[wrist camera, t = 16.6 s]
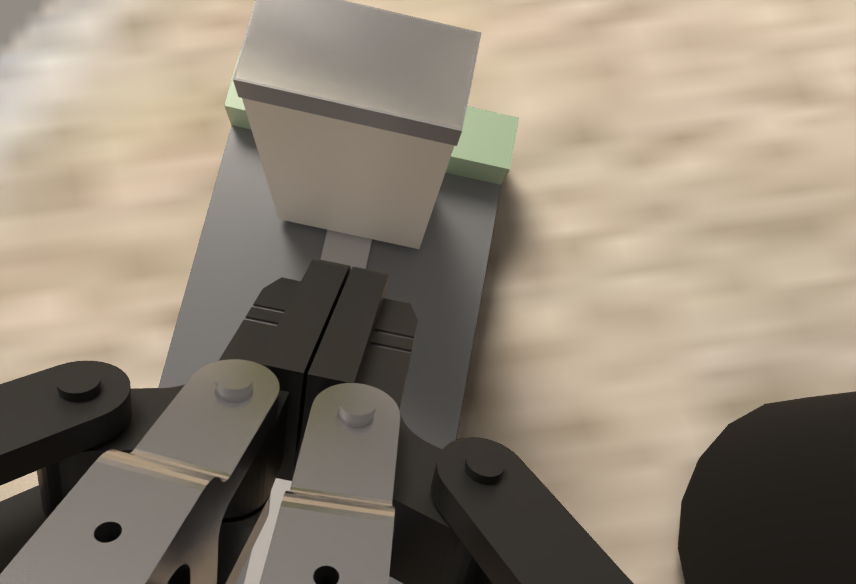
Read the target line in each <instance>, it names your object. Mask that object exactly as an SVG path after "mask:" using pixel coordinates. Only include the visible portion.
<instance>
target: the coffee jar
mask: <svg viewBox="0 0 856 584" xmlns="http://www.w3.org/2000/svg"><path fill="white" fill-rule="evenodd" d="M678 550H679V555H680V560H681V565H682V570H683V574H684V579H685V584H856V392H848V393H840V394H832V395H824V396H815V397H807V398H801V399H794V400H788V401H781V402H775V403H769V404H764V405H763V406H761V407H759V408H757V409H755V410H754V411H752V412H750V413H748V414H746V415H745V416H743V417H741V418H739V419H737V420H736V421H734V422H732V423H730V424H728V426H727V427H726V428H725V429H724V430H723V431H722V433H721V434H720V435H719V436H718V437H717V438H716V439H715V441H714V442H713V443H712V444H711V445H710V446H709V448H708V449H707V450H706V451H705V452H704V453H703V455H702V456H701V457H700V458H699V460H698V462H697V464H696V467H695V469H694V472H693V474H692V477H691V479H690V482H689V484H688V487H687V489H686V492H685V494H684V497H683V499H682V503H681V516H680V529H679V541H678Z"/></svg>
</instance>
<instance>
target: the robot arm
mask: <svg viewBox="0 0 856 584" xmlns="http://www.w3.org/2000/svg"><path fill="white" fill-rule="evenodd" d="M388 284H389V273H384V272H379V271H374V270H369V269H364V268H359V267H354V266H353V267H352V269H351V266H350V265H345V264H340V263H335V262H330V261H325V260H320V259H315V258H313V260H312V261H311V263H310V265H309V267H308V269H307V271H306V272H305V274H304V276H303V278H302V280H301V281H298V280H293V279H288V278H283V277H281V278H279V279H278V280H276V281H274V282H273V283H271V284H269V285H268V286H266V287H264V288H263V289H262V290H261V292H260V294H259V295H258V297H257V299H256V300H255V302H254V304H253V307H251V308H250V310H249V312H248V313H247V315H246V318H245V319H244V320H243V321H242V323H241V325H240V326H239V328H238V330H237V331H236V333H235V335H234V336H233V338H232V339H231V341H230V343H229V344H228V346H227V348H226V349H225V351H224V352H223V354H222V356H221V357H220V359H219V361H217V362H213V363H210V364H208V365H206V366H204V367H202V368H200V369H199V370H198V371H196V372H195V373H194V374H193V375H192V377H191V378H190V379H189V380H188V382H187V383H186V384H185V385H181V386H176V387H170V388H142V389H130V381H129V378H128V376H127V375H126V374H125V373H124V372H123V371H122V370H121V369H119V368H118V367H116V366H113V365H111V364H108V363H104V362H98V361H76V362H70V363H65V364H62V365H58V366H55V367H52V368H49V369H46V370H43V371H40V372H37V373H34V374H31V375H28V376H24V377H21V378H18V379H15V380H12V381H9V382H6V383H3V384H0V485H3V484H5V483H8V482H10V481H13V480H15V479H17V478H20V477H22V476H25V475H27V474H29V473H32V472H34V471H37V475H38V482H39V485H38V486H36V487H34V488H31V489H29V490H27V491H24V492H22V493H20V494H17V495H15V496H13V497H10V498H8V499H6V500H3V501H1V502H0V584H235V583H236V581H237V579H238V577H239V575H240V573H241V571H242V569H243V567H244V565H245V563H246V561H247V559H248V557H249V554H250V552H251V550H252V548H253V546H254V544H255V542H256V540H257V538H258V536H259V534H260V532H261V530H262V528H263V526H264V524H265V522H266V520H267V517H268V515H269V509H270V497H271V489H272V487H273V484H274V482H275V479H276V478H278V479H283V480H288V481H292V484H291V487H290V491H285V493H284V496H283V499H282V502H281V505H280V509H279V513H278V516H277V520H276V524H275V528H274V531H273V535H272V539H271V542H270V546H269V550H268V553H267V557H266V561H265V565H264V568H263V572H262V576H261V579H260V583H259V584H388V583H389V576H390V577H392V578H394V579H396V580H397V581H399V582H401V583H403V584H633V583H632V581H631V580H630V579H629V578H628V577H627V576H626V575H625V574H624V573H623V572H622V570H621V569H620V568H619V567H618V566H617V565H616V564H615V563H614V562H613V560H612V559H611V558H610V557H609V556H608V555H607V554H606V553H605V552H604V551H603V549H602V548H601V547H600V546H599V545H598V544H597V543H596V542H595V541H594V540H593V538H592V537H591V536H590V535H589V534H588V533H587V532H586V531H585V530H584V528H583V527H582V526H581V525H580V524H579V523H578V522H577V521H576V520H575V519H574V517H573V516H572V515H571V514H570V513H569V512H568V511H567V510H566V509H565V508H564V506H563V505H562V504H561V503H560V502H559V501H558V500H557V499H556V498H555V496H554V495H553V494H552V493H551V492H550V491H549V490H548V489H547V488H546V487H545V485H544V484H543V483H542V482H541V481H540V480H539V479H538V478H537V477H536V476H535V474H534V473H533V472H532V471H531V470H530V469H529V468H528V467H527V466H526V465H525V463H524V462H523V461H522V460H521V459H520V458H519V457H518V456H517V455H516V454H515V453H514V452H513V451H511V450H510V449H508V448H507V447H505V446H503V445H501V444H499V443H497V442H494V441H491V440H488V439H483V438H472V437H471V438H462V439H458V440H455V441H453V442H451V443H449V444H448V445H446V446H445V447H444V448H443V449H440V448H438V447H436V446H434V445H432V444H430V443H428V442H426V441H424V440H422V439H421V438H420V437H418V436H417V435H415V434H414V433H413V432H412V431H411V430H410V429H409V428H408V427H407V425H406V424H405V423H404V421H403V419H402V417H401V414H400V406H401V401H402V397H403V392H404V388H405V383H406V378H407V373H408V368H409V363H410V358H411V353H412V348H413V343H414V338H415V332H416V327H417V322H418V319H417V317H416V315H415V313H414V310H413V308H412V306H411V304H410V303H405V302H400V301H395V300H390V299H386V296H387V290H388Z"/></svg>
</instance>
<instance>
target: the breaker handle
mask: <svg viewBox="0 0 856 584" xmlns="http://www.w3.org/2000/svg"><path fill="white" fill-rule="evenodd" d="M480 37H481V32H477V31H472V30H468V29H464V28H459V27H455V26H451V25H447V24H442V23H438V22H434V21H430V20H425V19H421V18H417V17H413V16H408V15H404V14H400V13H395V12H391V11H387V10H383V9H378V8H374V7H370V6H366V5H361V4H357V3H353V2H348V1H344V0H255V3H254V6H253V10H252V13H251V17H250V20H249V24H248V27H247V31H246V34H245V38H244V41H243V45H242V48H241V52H240V56H239V59H238V63H237V66H236V70H235V73H234V77H233V82H234V85H235V88H236V91H237V95H238V97H240V98H242V100H243V104H244V107H245V110H246V114H247V117H248V120H249V123H250V127H251V130H252V133H253V137H254V140H255V143H256V146H257V150H258V153H259V156H260V159H261V163H262V166H263V169H264V173H265V176H266V179H267V182H268V186H269V189H270V192H271V196H272V199H273V202H274V205H275V209H276V212H277V215H278V218H279V219H280V220H285V221H290V222H294V223H299V224H304V225H308V226H313V227H318V228H322V229H327V230H332V231H336V232H341V233H346V234H350V235H355V236H360V237H364V238H369V239H374V240H378V241H383V242H388V243H392V244H397V245H402V246H406V247H411V248H416V249H419V248H420V246H421V243H422V240H423V237H424V234H425V231H426V228H427V225H428V222H429V219H430V216H431V213H432V210H433V207H434V204H435V201H436V199H437V196H438V193H439V190H440V187H441V184H442V181H443V178H444V175H445V172H446V169H447V166H448V163H449V160H450V157H451V154H452V152H453V149H454V146H457V144H458V142H459V139H460V136H461V133H462V129H463V124H464V119H465V114H466V109H467V104H468V98H469V93H470V88H471V83H472V78H473V73H474V68H475V63H476V57H477V52H478V47H479V42H480Z"/></svg>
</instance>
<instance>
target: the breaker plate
mask: <svg viewBox="0 0 856 584" xmlns="http://www.w3.org/2000/svg"><path fill="white" fill-rule="evenodd" d="M239 56H240V54H239ZM239 56H238V59H239ZM237 63H238V60H237ZM237 63H236V66H237ZM235 70H236V67H235ZM235 70H234V73H235ZM233 77H234V74H233ZM233 77H232V81H231V84H230V88H229V91H228V95H227V99H226V102H225V109H226V111H227V114H228V117H229V120H230V122H231V129H230V133H229V136H228V140H227V143H226V147H225V150H224V154H223V158H222V161H221V165H220V168H219V172H218V176H217V179H216V183H215V186H214V190H213V193H212V197H211V201H210V204H209V208H208V211H207V215H206V219H205V222H204V226H203V229H202V233H201V237H200V240H199V244H198V247H197V251H196V254H195V258H194V262H193V265H192V269H191V272H190V276H189V280H188V283H187V287H186V290H185V294H184V297H183V301H182V305H181V308H180V312H179V315H178V319H177V323H176V326H175V330H174V333H173V337H172V341H171V344H170V348H169V351H168V355H167V358H166V362H165V366H164V369H163V373H162V376H161V380H160V384H159V387H158V388H170V387H176V386H181V385H185V384H186V383H187V382H188V380H189V379H190V378H191V377H192V375H193V374H194V373H195V372H196V371H198V370H199V369H200V368H202V367H204V366H206V365H208V364H210V363H213V362H217V361H219V359H220V357H221V356H222V354H223V352H224V351H225V349H226V348H227V346H228V344H229V343H230V341H231V339H232V338H233V336H234V335H235V333H236V331H237V330H238V328H239V326H240V325H241V323H242V321H243V320H244V319H245V318H246V315H247V313H248V312H249V310H250V308H251V307H253V304H254V302H255V300H256V299H257V297H258V295H259V294H260V292H261V290H262V289H263V288H264V287H266V286H268V285H269V284H271V283H273V282H274V281H276V280H278V279H279V278H281V277H283V278H288V279H293V280H298V281H301V280H302V278H303V276H304V274H305V272H306V271H307V269H308V267H309V265H310V263H311V261H312V260H313V258H315V259H320V260H325V261H330V262H335V263H340V264H345V265H350V266H351V269H352V267H353V266H354V267H359V268H364V269H369V270H374V271H379V272H384V273H389V284H388V290H387V296H386V299H390V300H395V301H400V302H405V303H410V304H411V306H412V308H413V310H414V313H415V315H416V317H417V319H418V322H417V327H416V332H415V338H414V343H413V348H412V353H411V358H410V363H409V368H408V373H407V378H406V383H405V388H404V392H403V397H402V401H401V406H400V414H401V417H402V419H403V421H404V423H405V424H406V425H407V427H408V428H409V429H410V430H411V431H412V432H413V433H414V434H415V435H417V436H418V437H420V438H421V439H422V440H424V441H426V442H428V443H430V444H432V445H434V446H436V447H438V448H440V449H443V448H444V447H445V446H446V445H448V444H449V443H451V442H453V441H455V440H456V436H457V431H458V425H459V419H460V414H461V408H462V402H463V397H464V391H465V385H466V380H467V374H468V369H469V363H470V357H471V352H472V346H473V340H474V335H475V329H476V324H477V318H478V312H479V307H480V301H481V295H482V290H483V284H484V278H485V273H486V267H487V262H488V256H489V250H490V245H491V239H492V233H493V228H494V222H495V216H496V211H497V205H498V200H499V194H500V188H501V184H502V182H503V181H504V179H505V177H506V175H507V174H508V172H509V170H510V166H511V160H512V154H513V149H514V143H515V137H516V132H517V126H518V120H519V118H518V117H513V116H509V115H504V114H500V113H496V112H491V111H487V110H482V109H478V108H474V107H469V106H467V109H466V114H465V119H464V124H463V129H462V133H461V136H460V139H459V142H458V144H457V146H454V149H453V152H452V154H451V157H450V160H449V163H448V166H447V169H446V172H445V175H444V178H443V181H442V184H441V187H440V190H439V193H438V196H437V199H436V201H435V204H434V207H433V210H432V213H431V216H430V219H429V222H428V225H427V228H426V231H425V234H424V237H423V240H422V243H421V246H420V248H419V249H416V248H411V247H406V246H402V245H397V244H392V243H388V242H383V241H378V240H374V239H369V238H364V237H360V236H355V235H350V234H346V233H341V232H336V231H332V230H327V229H322V228H318V227H313V226H308V225H304V224H299V223H294V222H290V221H285V220H280V219H279V218H278V215H277V212H276V209H275V205H274V202H273V199H272V196H271V192H270V189H269V186H268V182H267V179H266V176H265V173H264V169H263V166H262V163H261V159H260V156H259V153H258V150H257V146H256V143H255V140H254V137H253V133H252V130H251V127H250V123H249V120H248V117H247V114H246V110H245V107H244V104H243V100H242V98H240V97H238V95H237V91H236V88H235V85H234V82H233ZM291 484H292V481H288V480H283V479H278V478H276V479H275V482H274V484H273V487H272V489H271V497H270V509H269V515H268V517H267V520H266V522H265V524H264V526H263V528H262V530H261V532H260V534H259V536H258V538H257V540H256V542H255V544H254V546H253V548H252V550H251V552H250V554H249V557H248V559H247V561H246V563H245V565H244V567H243V569H242V571H241V573H240V575H239V577H238V579H237V581H236V583H235V584H259V583H260V579H261V576H262V572H263V568H264V565H265V561H266V557H267V553H268V550H269V546H270V542H271V539H272V535H273V531H274V528H275V524H276V520H277V516H278V513H279V509H280V505H281V502H282V499H283V496H284V493H285V491H290V487H291ZM388 584H403V583H401V582H399V581H397V580H396V579H394V578H392V577H390V576H389V583H388Z"/></svg>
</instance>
